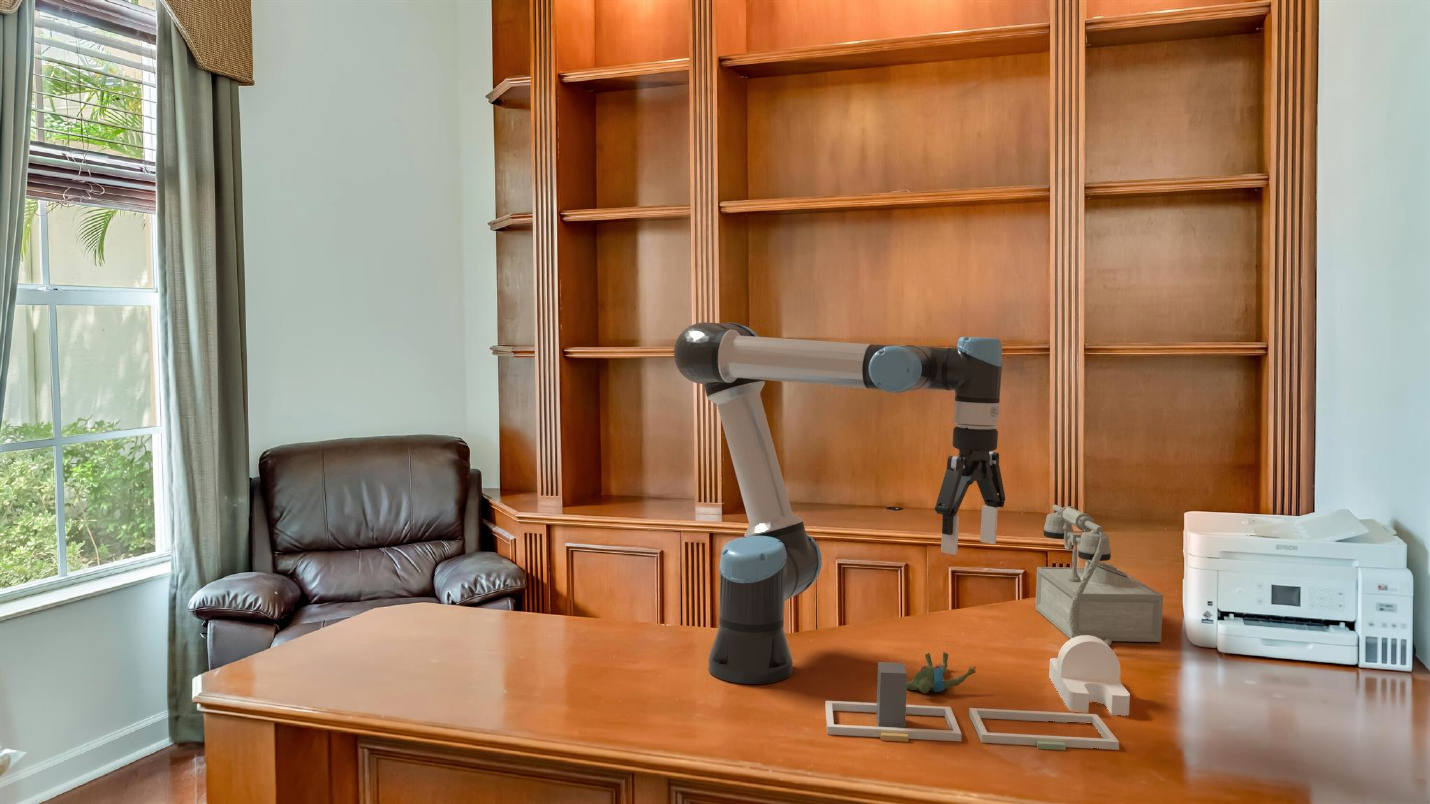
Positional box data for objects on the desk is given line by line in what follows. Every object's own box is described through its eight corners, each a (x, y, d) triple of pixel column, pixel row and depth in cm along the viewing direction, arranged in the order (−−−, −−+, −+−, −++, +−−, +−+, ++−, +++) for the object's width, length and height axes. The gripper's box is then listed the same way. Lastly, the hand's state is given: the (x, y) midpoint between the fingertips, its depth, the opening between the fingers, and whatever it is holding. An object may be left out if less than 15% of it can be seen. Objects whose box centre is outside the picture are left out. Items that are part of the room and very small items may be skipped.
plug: (878, 729, 154) (880, 672, 154) (875, 715, 160) (877, 660, 159) (905, 731, 154) (907, 673, 153) (901, 717, 160) (903, 661, 159)
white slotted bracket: (1069, 713, 163) (1071, 652, 163) (1047, 677, 181) (1050, 621, 180) (1130, 718, 162) (1133, 656, 161) (1103, 680, 180) (1105, 625, 179)
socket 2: (982, 745, 149) (983, 738, 149) (968, 715, 161) (969, 707, 161) (1121, 753, 147) (1121, 745, 147) (1096, 721, 159) (1097, 714, 159)
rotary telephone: (1175, 654, 196) (1181, 527, 194) (1070, 651, 196) (1076, 525, 194) (1111, 609, 228) (1116, 500, 226) (1021, 607, 228) (1025, 498, 226)
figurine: (979, 649, 181) (970, 676, 164) (982, 671, 181) (973, 700, 164) (893, 653, 187) (876, 680, 170) (896, 674, 187) (879, 703, 170)
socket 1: (827, 737, 151) (827, 729, 151) (825, 707, 163) (825, 700, 163) (962, 744, 149) (962, 736, 149) (950, 714, 161) (950, 707, 161)
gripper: (958, 432, 161) (951, 562, 162) (1029, 425, 179) (1022, 542, 181) (918, 427, 166) (911, 553, 168) (990, 421, 184) (984, 535, 186)
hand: (968, 548), depth 174 cm, fingers open, 13 cm apart
